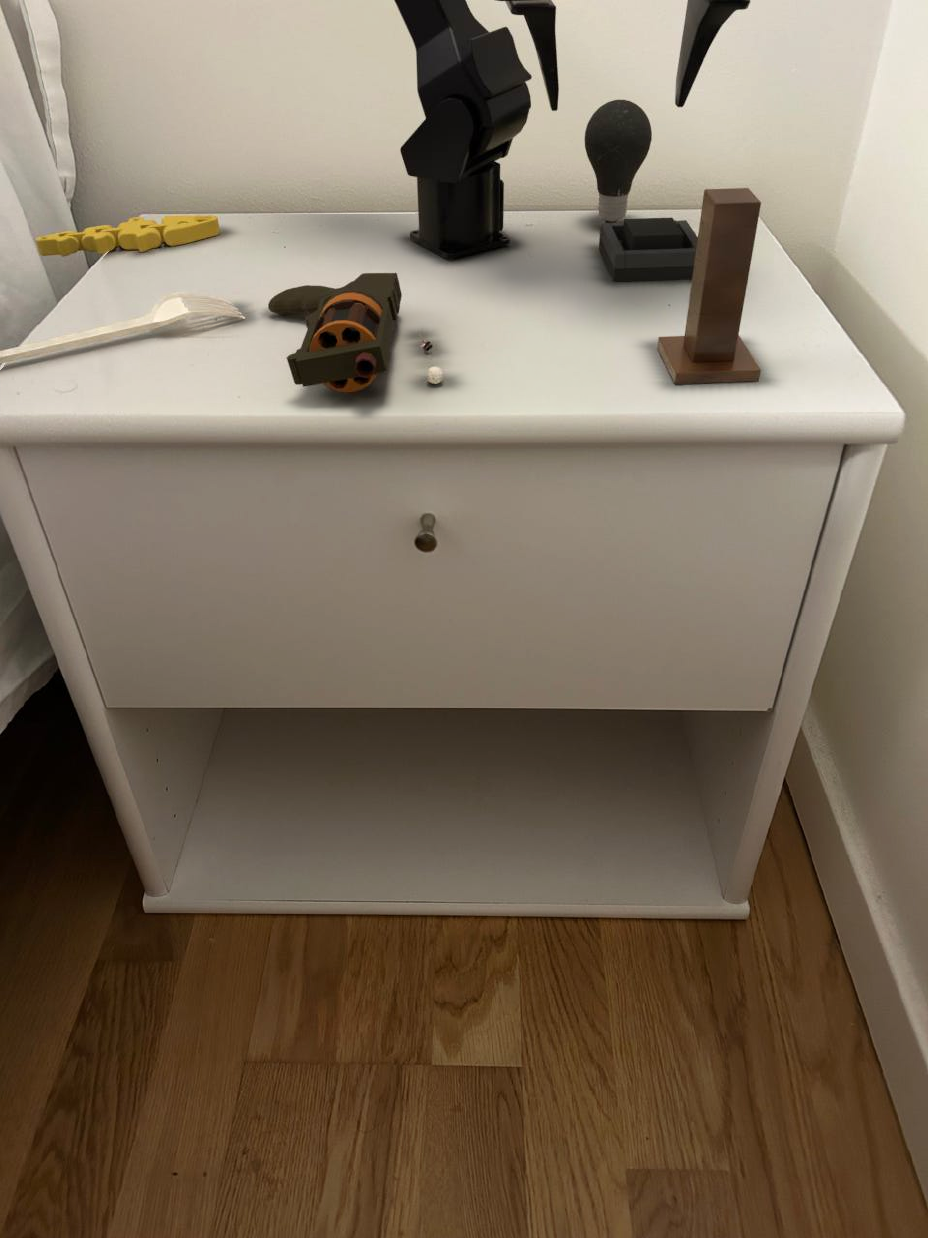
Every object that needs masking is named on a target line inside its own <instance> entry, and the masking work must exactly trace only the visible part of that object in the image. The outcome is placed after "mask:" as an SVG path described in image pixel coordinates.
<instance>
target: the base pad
mask: <svg viewBox="0 0 928 1238" xmlns="http://www.w3.org/2000/svg"><path fill="white" fill-rule="evenodd" d="M674 221H675V222H676V224H677V225H678V227H679V228H680V230H681V231H682V233H683V235H684V236H683V243H682V249H655V250H625V248H624V246H623V244H622V237H623V226H624V221H621V222H619V221H617V222H615V223H606V222H601V223H600V224H599V225H600V227H599V240H598V251H599V253H600V255H601V258H602V260H603V262H604V264H605V266H606V268H607V270H608V273H609V275H610V277H611V280H612V282H614V283H615V282H616V283H618V282H645V281H646V282H647V281H674V280H677V281H679V280H692V277H693V269H694V262H695V255H696V247H697V240H698V235H697V234H696V232H695V231H694V230H693V228H692V226H691V225H690V223H689V222H688V221H687V220H686V219H685V220H684V219H683V220H674Z"/></svg>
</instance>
